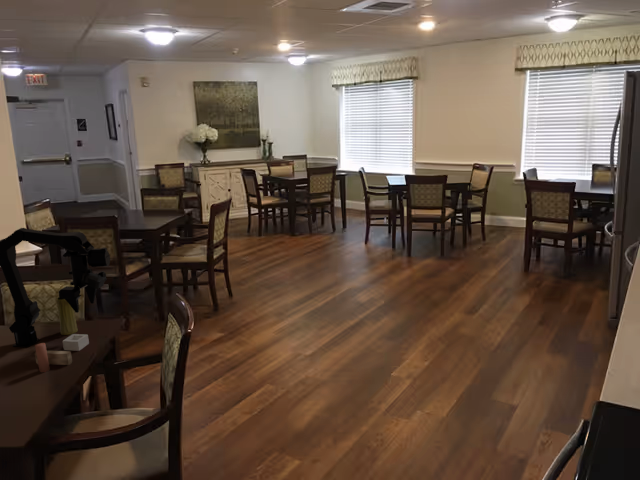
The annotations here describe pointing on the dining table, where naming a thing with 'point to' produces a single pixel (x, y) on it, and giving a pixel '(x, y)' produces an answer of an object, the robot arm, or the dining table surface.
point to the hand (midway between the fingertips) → (84, 307)
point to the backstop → (58, 357)
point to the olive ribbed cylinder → (66, 317)
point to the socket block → (75, 342)
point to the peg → (42, 357)
